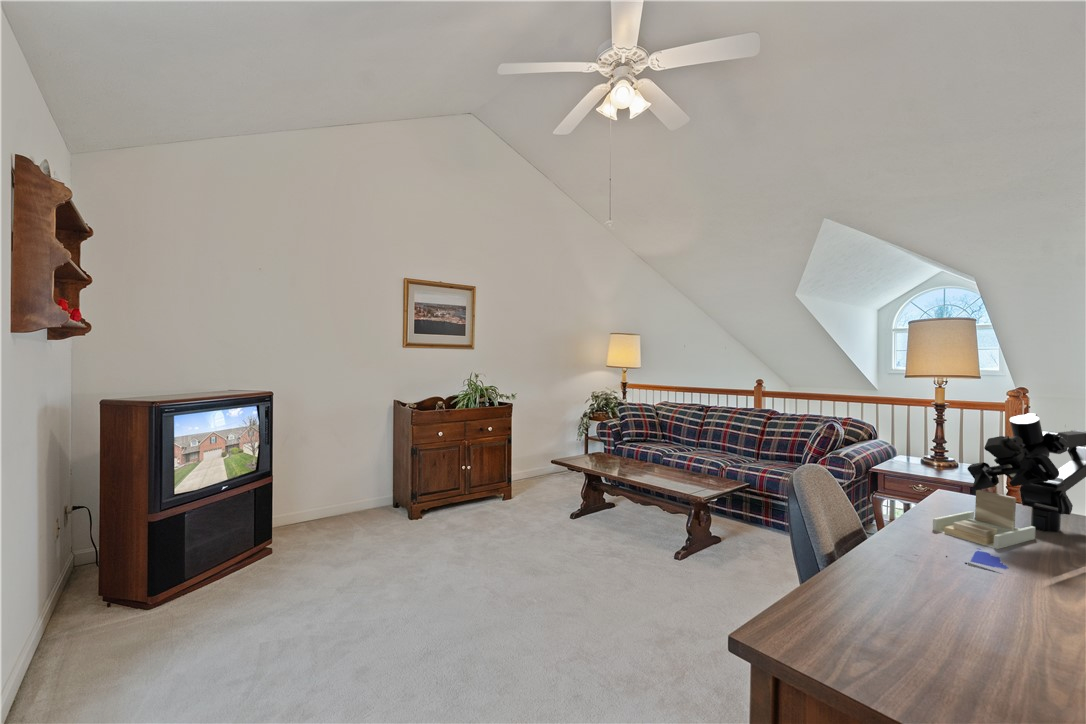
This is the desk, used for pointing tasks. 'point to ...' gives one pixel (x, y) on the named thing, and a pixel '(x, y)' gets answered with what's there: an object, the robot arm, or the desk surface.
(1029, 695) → the desk surface
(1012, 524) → the birch sheet
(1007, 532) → the rack
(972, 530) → the offcut top
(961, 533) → the offcut bottom
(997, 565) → the hard drive
